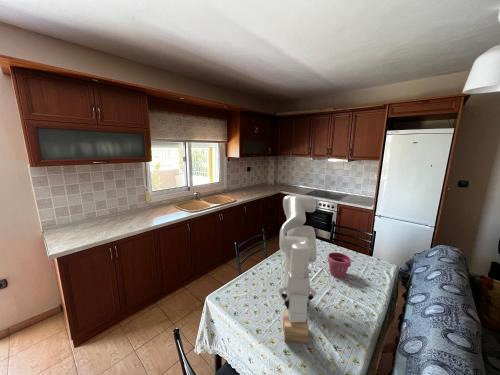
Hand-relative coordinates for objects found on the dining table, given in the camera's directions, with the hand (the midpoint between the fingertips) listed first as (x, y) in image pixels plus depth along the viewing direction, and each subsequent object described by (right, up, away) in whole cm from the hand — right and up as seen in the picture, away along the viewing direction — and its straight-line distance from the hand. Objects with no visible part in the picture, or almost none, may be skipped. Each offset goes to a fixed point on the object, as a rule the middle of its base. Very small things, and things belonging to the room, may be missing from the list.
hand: (296, 307), depth 93 cm
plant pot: (+39, -6, +48) cm, 61 cm away
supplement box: (0, -5, +1) cm, 5 cm away
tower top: (0, -10, +2) cm, 10 cm away
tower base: (0, -14, +2) cm, 14 cm away
